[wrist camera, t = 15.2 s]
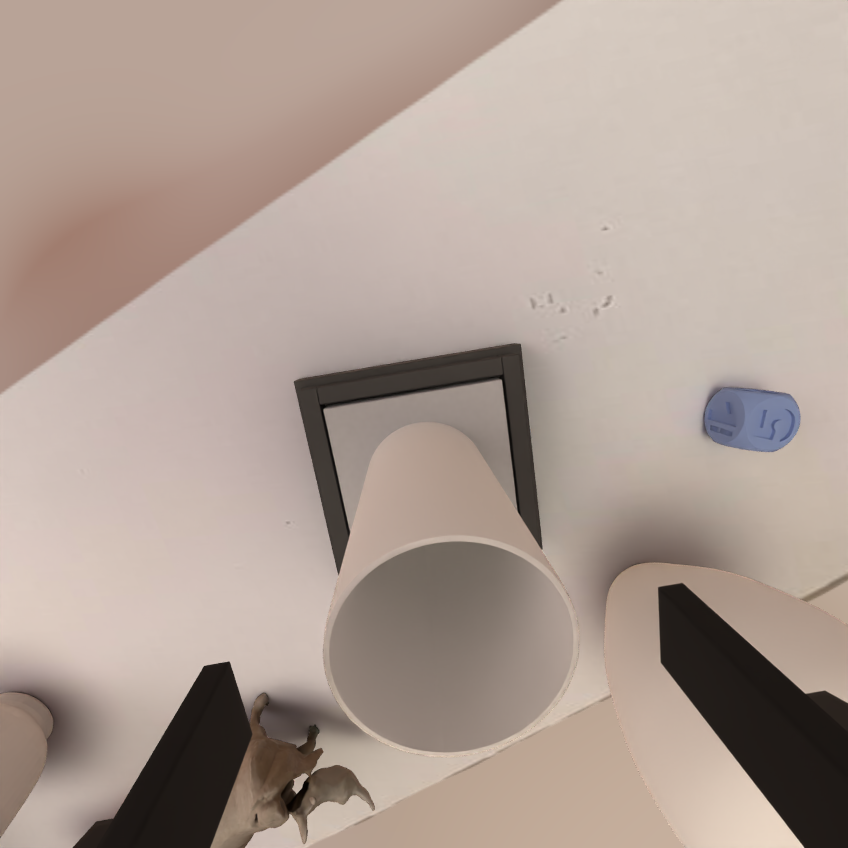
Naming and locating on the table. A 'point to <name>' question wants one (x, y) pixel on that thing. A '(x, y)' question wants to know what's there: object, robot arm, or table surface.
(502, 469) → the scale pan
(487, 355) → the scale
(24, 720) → the teacup
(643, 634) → the vase
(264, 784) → the rhinoceros figurine
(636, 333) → the table surface
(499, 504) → the cup
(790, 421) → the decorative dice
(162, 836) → the robot arm
